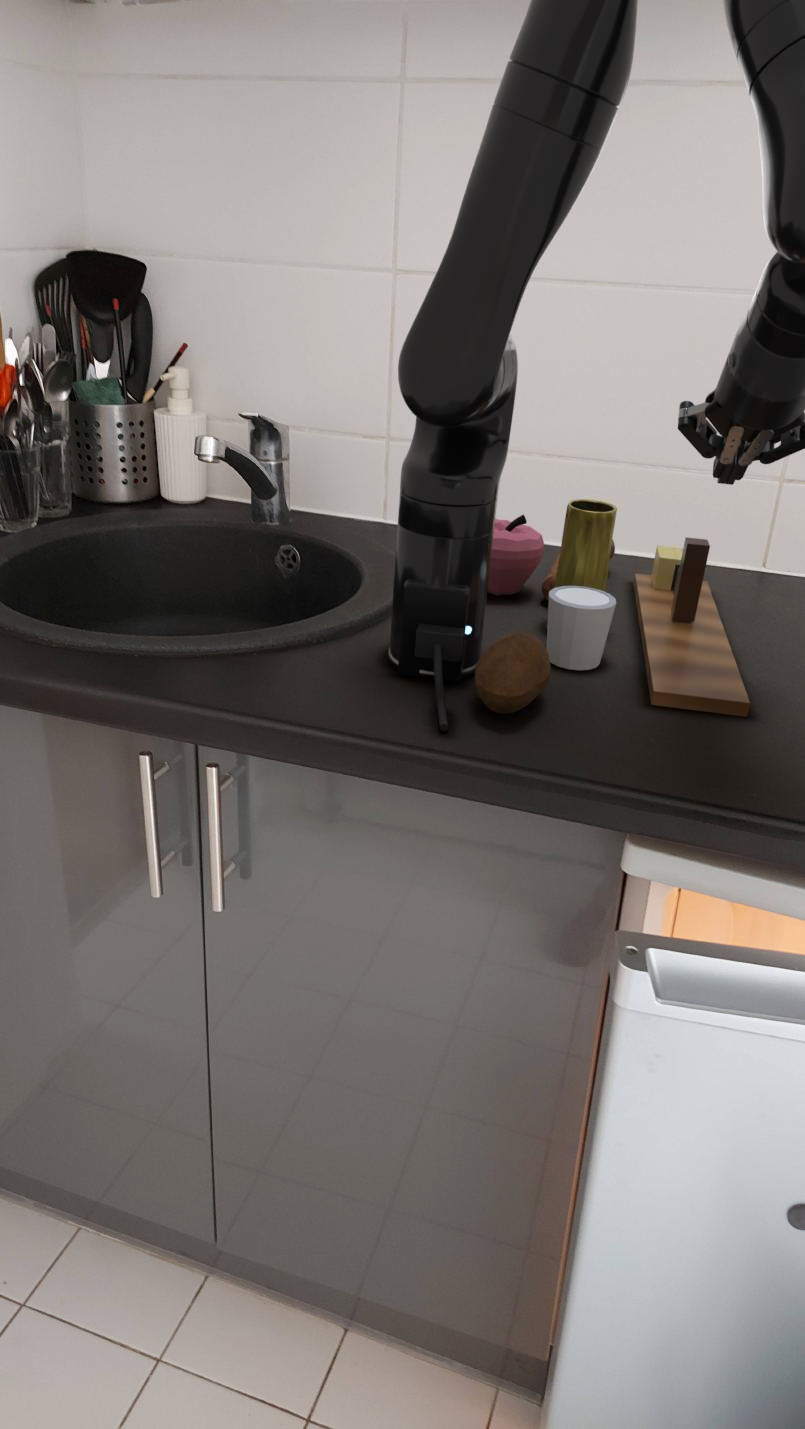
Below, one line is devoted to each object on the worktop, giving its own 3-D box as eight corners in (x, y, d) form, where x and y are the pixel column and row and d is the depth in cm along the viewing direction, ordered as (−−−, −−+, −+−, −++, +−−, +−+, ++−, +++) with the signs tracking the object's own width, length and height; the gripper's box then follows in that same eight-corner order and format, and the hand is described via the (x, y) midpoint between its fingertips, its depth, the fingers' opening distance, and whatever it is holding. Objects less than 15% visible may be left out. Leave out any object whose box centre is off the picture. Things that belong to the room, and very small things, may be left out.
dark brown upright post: (694, 621, 113) (710, 545, 109) (672, 619, 113) (687, 543, 109) (679, 570, 129) (693, 503, 125) (660, 568, 129) (673, 500, 125)
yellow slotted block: (695, 593, 122) (702, 562, 121) (653, 588, 123) (659, 557, 121) (691, 580, 127) (697, 549, 125) (651, 576, 127) (656, 545, 125)
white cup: (565, 676, 101) (575, 611, 98) (527, 651, 107) (535, 588, 104) (619, 667, 104) (630, 603, 101) (579, 642, 110) (589, 581, 107)
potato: (458, 724, 90) (465, 653, 87) (485, 675, 100) (492, 609, 97) (533, 738, 89) (542, 666, 86) (552, 687, 99) (562, 621, 96)
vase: (550, 640, 110) (569, 511, 103) (541, 620, 115) (558, 496, 109) (606, 643, 110) (627, 515, 104) (594, 622, 116) (614, 499, 109)
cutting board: (746, 717, 96) (750, 702, 95) (650, 705, 97) (653, 691, 96) (704, 592, 128) (707, 581, 127) (633, 584, 129) (635, 573, 128)
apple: (523, 579, 127) (532, 501, 123) (549, 604, 120) (560, 522, 115) (451, 581, 125) (458, 502, 120) (472, 606, 118) (481, 523, 113)
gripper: (862, 329, 82) (796, 450, 99) (696, 314, 84) (659, 436, 100) (860, 406, 80) (793, 517, 96) (690, 390, 81) (653, 502, 98)
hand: (725, 475), depth 98 cm, fingers closed
